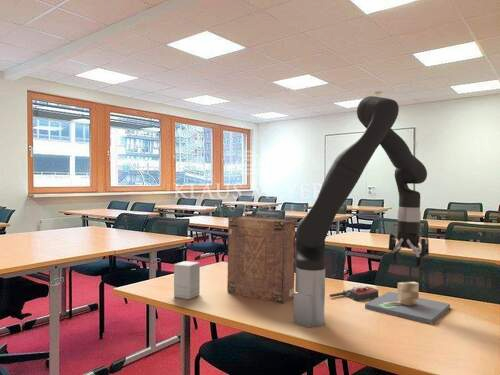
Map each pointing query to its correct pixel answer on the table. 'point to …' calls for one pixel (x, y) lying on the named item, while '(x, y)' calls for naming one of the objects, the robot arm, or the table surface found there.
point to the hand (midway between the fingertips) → (407, 265)
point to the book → (261, 258)
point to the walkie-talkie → (359, 293)
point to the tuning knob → (406, 294)
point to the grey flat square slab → (409, 308)
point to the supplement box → (186, 279)
